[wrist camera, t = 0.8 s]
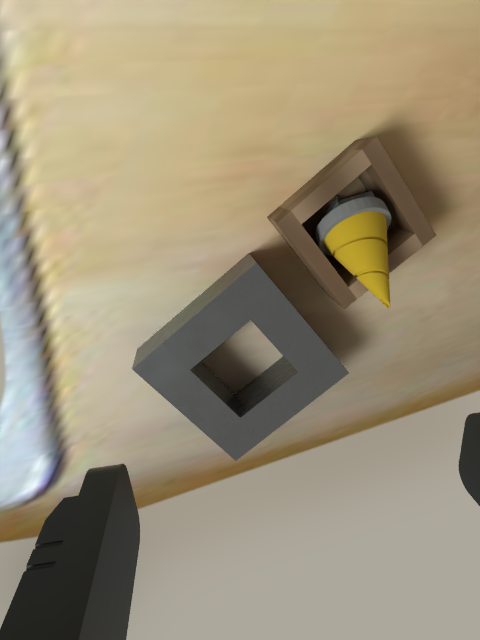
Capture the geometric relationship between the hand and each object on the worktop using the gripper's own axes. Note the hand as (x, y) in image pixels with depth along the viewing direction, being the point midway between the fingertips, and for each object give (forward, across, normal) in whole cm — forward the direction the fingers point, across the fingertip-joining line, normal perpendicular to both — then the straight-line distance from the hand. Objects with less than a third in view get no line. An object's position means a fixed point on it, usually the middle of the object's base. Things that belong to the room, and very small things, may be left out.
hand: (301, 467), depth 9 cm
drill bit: (+23, -10, 0) cm, 25 cm away
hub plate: (+23, 0, +8) cm, 24 cm away
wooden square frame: (+23, -9, -2) cm, 25 cm away
